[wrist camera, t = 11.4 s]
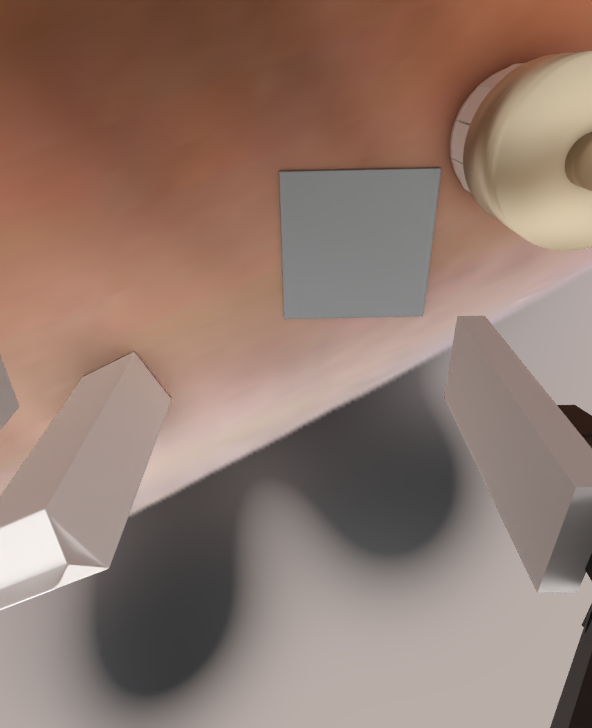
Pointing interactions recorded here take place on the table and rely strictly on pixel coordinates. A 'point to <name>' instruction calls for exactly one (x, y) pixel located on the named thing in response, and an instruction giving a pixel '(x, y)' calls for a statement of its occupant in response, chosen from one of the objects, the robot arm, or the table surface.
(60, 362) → the table surface
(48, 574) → the milk
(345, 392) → the table surface
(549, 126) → the beige round piece
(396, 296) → the mat
